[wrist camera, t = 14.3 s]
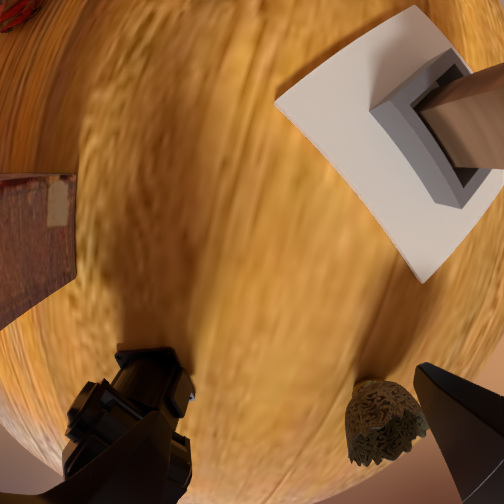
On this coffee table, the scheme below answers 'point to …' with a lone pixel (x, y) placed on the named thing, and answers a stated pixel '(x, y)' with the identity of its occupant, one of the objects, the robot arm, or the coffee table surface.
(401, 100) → the plate
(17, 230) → the book
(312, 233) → the coffee table surface
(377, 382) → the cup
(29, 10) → the dragon fruit
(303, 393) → the coffee table surface
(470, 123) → the walnut post
